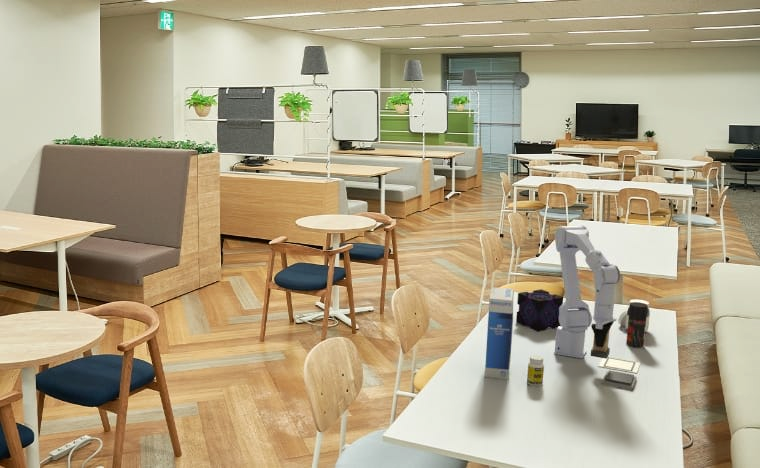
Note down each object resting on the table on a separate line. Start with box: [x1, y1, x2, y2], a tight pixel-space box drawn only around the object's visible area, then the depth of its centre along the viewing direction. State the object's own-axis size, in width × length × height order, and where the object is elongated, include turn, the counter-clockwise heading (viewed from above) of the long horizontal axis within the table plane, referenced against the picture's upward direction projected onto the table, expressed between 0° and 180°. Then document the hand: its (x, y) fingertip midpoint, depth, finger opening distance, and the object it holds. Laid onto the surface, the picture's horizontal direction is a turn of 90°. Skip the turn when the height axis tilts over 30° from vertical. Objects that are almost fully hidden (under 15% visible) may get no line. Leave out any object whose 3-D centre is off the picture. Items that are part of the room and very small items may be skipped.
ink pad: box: [601, 369, 637, 391], centre depth 224 cm, size 9×9×2 cm
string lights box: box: [484, 287, 515, 380], centre depth 228 cm, size 13×8×26 cm, turn 168°
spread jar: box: [617, 299, 651, 335], centre depth 272 cm, size 12×11×12 cm
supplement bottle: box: [526, 354, 545, 387], centre depth 221 cm, size 5×5×8 cm
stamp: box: [590, 330, 611, 359], centre depth 229 cm, size 5×5×8 cm
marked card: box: [597, 356, 641, 374], centre depth 238 cm, size 12×10×1 cm
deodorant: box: [625, 302, 649, 349], centre depth 256 cm, size 6×6×15 cm
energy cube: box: [515, 288, 564, 332], centre depth 276 cm, size 12×12×12 cm
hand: (600, 344), depth 229 cm, fingers closed on stamp, 4 cm apart
